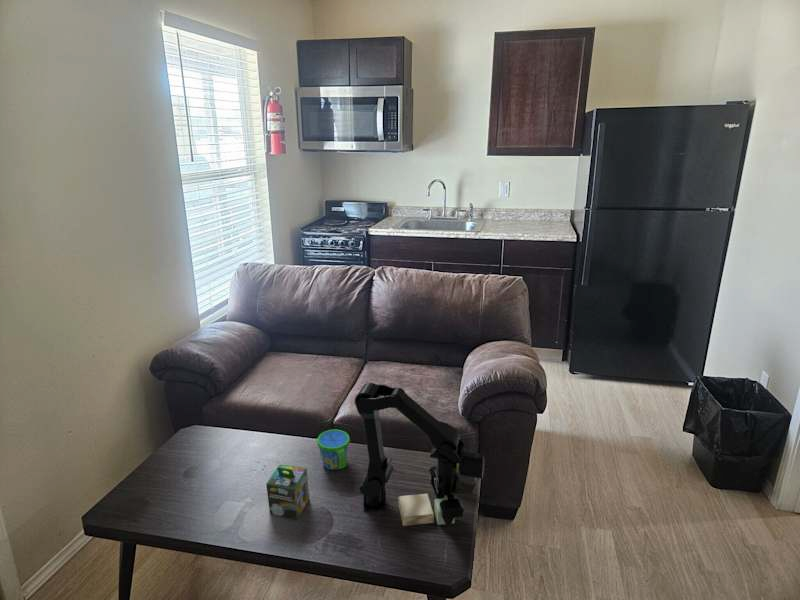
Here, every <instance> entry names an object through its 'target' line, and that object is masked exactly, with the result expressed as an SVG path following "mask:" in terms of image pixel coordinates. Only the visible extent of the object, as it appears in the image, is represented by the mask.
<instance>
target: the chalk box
mask: <svg viewBox="0 0 800 600" xmlns="http://www.w3.org/2000/svg"><path fill="white" fill-rule="evenodd" d="M307 470H308V469H307V467H301V466H295V465H293V466H292V465H287V464H279V465H278V467H277V468H276V469H275V470H274V471H273V473H272V475H271V477H269V479H268V480H267V482H266V483H265V484H266V492H267V500H268V502H267V503H268V508H269V509H268V510H269V515H272V516H277V517H283V518H286V519H293V520H298V519H299V517H300V515H301V514H302V512H303V511H304V509H305V507H306V506H307V504H308V502H309V500H310V492H309V490H310V489H309V481H308V480H309V479H308V471H307Z"/></svg>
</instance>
